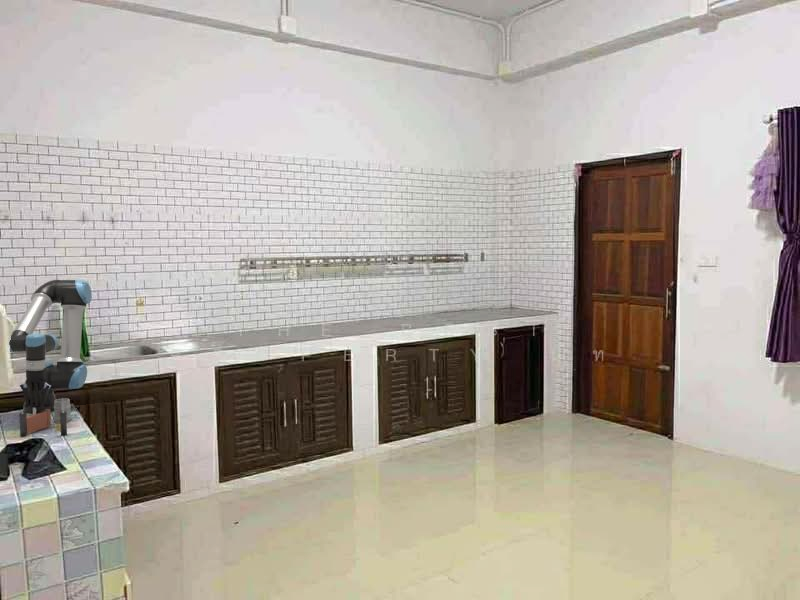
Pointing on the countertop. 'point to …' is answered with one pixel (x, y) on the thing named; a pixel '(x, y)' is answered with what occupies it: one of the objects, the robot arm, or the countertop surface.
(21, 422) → the hinge post
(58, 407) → the mug
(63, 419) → the latch post
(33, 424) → the gate
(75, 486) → the countertop surface
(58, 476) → the countertop surface
